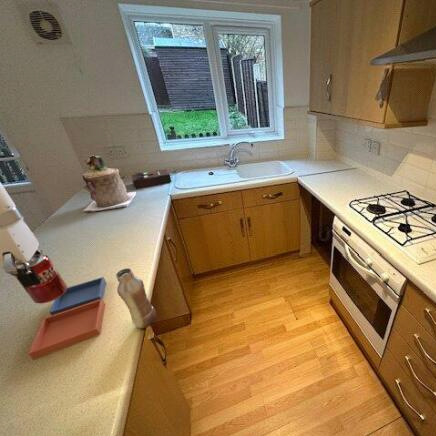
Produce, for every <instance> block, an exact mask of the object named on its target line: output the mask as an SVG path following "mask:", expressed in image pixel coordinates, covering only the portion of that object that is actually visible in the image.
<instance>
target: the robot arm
mask: <svg viewBox="0 0 436 436" xmlns="http://www.w3.org/2000/svg"><path fill="white" fill-rule="evenodd" d="M36 254H44V252H43V250H42V249H41V248H40V243H39V241H38V239H37V237H36V236H35V234H34V233H33V231H32V230H31V228H30V227H29V226H28V225H27V223H26V222H25V221H24V216H23V214H22V213H21V212H20V209H19V208H18V207H17V206H16V204H15V202H14V200H13V199H12V197H11V196H10V194H9V193H8V191H7V190H6V188H5V187H4V185H3V184H2V182H1V181H0V268H1V269H4V273H7V274H9V275H10V276H13V278H15V277H17V279H18V280H19V281H20V283H21V284H22V285H23V286H24V287H25V288H27V287H30V286H34V285H37V284H40V283H41V280H40V279H39V278H38V276H37V275H36V273H35V272H34V270H33V271H31V269H30V266H29V263H28V261H29V260H30V259H31V258H32V256H33V255H36ZM19 260H22V262H20V263H16V262H17V261H19ZM15 263H16V264H15ZM19 265H23V266H24V269H22V268H19V269H18V268H17V266H19ZM17 279H16V280H17ZM18 280H17V281H18ZM20 283H19V284H20ZM21 284H20V285H21ZM22 285H21V286H22Z"/></svg>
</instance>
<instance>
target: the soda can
mask: <svg viewBox="0 0 436 436" xmlns="http://www.w3.org/2000/svg"><path fill="white" fill-rule="evenodd" d="M20 262H22V260H19V261H15V264H16V263H20ZM28 263H29V266H30V269H31V271H33V270H34V272H35V273H36V275H37V276H38V278H39V279H40V280H41V283H40V284H37V285H34V286H30V287H27V288H25V287H24V286H23V285H22V284H21V283H20V281H19V280H18V279H17V277H14V278H15V279H16V280H17V282H18V283H19V284H20V286H21V287H22V288H23V290H24V291H25V292H26V294H27V295H28V296H29V297H30V299H31V300H32V301H33V302H34V303H35V304H47V303H51V302H54V301H55V299H57V298H59V297H60V296H62V295H63V294H64V293H65V292H66V290H67V288H68V285H67V283H66V282H65V281H64V279H63V277H62V275H61V274H60V273H59V271H58V270H57V267H56V266H55V264H54V263H53V262H52V260H51V259H50V256H48V255H46V254H44V253H43V254H36V255H33V256H32V258H31V259H30V260H29V261H28ZM17 268H18V269H19V268H22V269H24V266H23V265H19V266H17Z"/></svg>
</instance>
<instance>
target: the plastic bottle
mask: <svg viewBox="0 0 436 436" xmlns="http://www.w3.org/2000/svg"><path fill="white" fill-rule="evenodd" d="M115 276H116V280H117V282H118V284H117V288H116V290H117V291H116V292H117V294H118V296H119V297H120V298H121V300H122V301H123V302H124V304H125V305H126V307H127V309H128V311H129V314H130V318H131V319H130V320H131V322H132V324H133V326H135V327H136V328H137V329H146V328H148V327H151V325H153V324H154V323H155V322H156V319H157V310H156V308H155V307H154V306H153V305H152V303H151V302H150V300H149V298H148V295H147V292H146V288H145V284H144V281H143V279H141V278H140V277H138V276H136V275H135V274H134V272H133V271H132V269H131V268H123V269H121V270H119V271H118V272H117V273H116V274H115Z"/></svg>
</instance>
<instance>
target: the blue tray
mask: <svg viewBox="0 0 436 436" xmlns="http://www.w3.org/2000/svg"><path fill="white" fill-rule="evenodd" d="M106 285H107V280H106V279H105V277H104V276H102V277H99V278H98V277H97V278H95V279H91V280H87V281H85V282H82V283H78V284H76V285H72V286H67V290H66V292H65V293H64V294H63V295H62V296H60V297H59V298H57V299H55V300H53V303H52V306H51V308H50V309H49V314H50V316H52V315H55V314H58V313H61V312H64V311H67V310H70V309H73V308H76V307H79V306H82V305H85V304H88V303H91V302H94V301H97V300H100V299H103V300H104V295H105V290H106Z"/></svg>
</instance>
